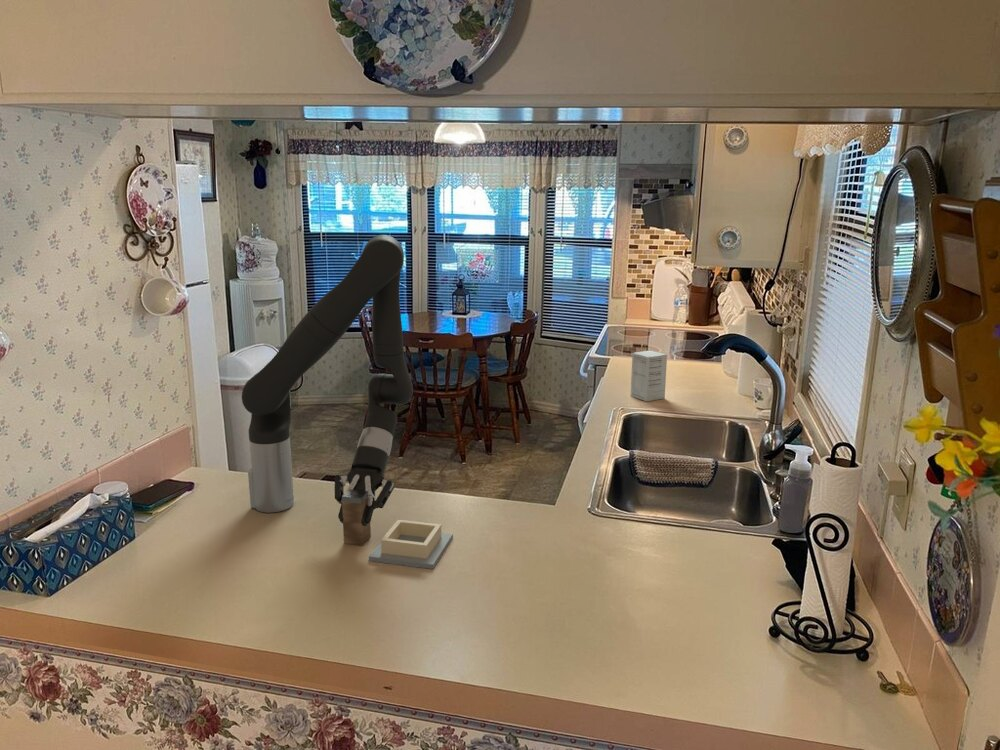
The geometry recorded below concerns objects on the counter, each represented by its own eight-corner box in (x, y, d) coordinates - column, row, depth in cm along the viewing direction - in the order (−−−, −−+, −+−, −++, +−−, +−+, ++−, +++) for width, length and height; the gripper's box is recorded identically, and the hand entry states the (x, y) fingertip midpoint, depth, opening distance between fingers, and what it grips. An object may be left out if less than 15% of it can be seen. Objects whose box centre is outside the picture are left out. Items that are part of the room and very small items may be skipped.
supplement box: (665, 398, 272) (668, 354, 268) (646, 402, 267) (649, 357, 263) (648, 392, 280) (650, 349, 276) (629, 395, 275) (631, 352, 271)
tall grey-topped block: (343, 543, 159) (341, 496, 156) (352, 534, 163) (350, 488, 160) (362, 545, 158) (361, 498, 155) (370, 536, 162) (369, 490, 159)
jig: (368, 560, 152) (368, 543, 151) (393, 531, 165) (392, 514, 164) (433, 569, 149) (432, 551, 148) (452, 538, 162) (452, 521, 161)
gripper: (338, 441, 164) (316, 513, 156) (398, 447, 161) (379, 521, 153) (349, 455, 171) (328, 525, 162) (407, 461, 167) (389, 533, 159)
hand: (353, 523), depth 157 cm, fingers closed on tall grey-topped block, 4 cm apart
